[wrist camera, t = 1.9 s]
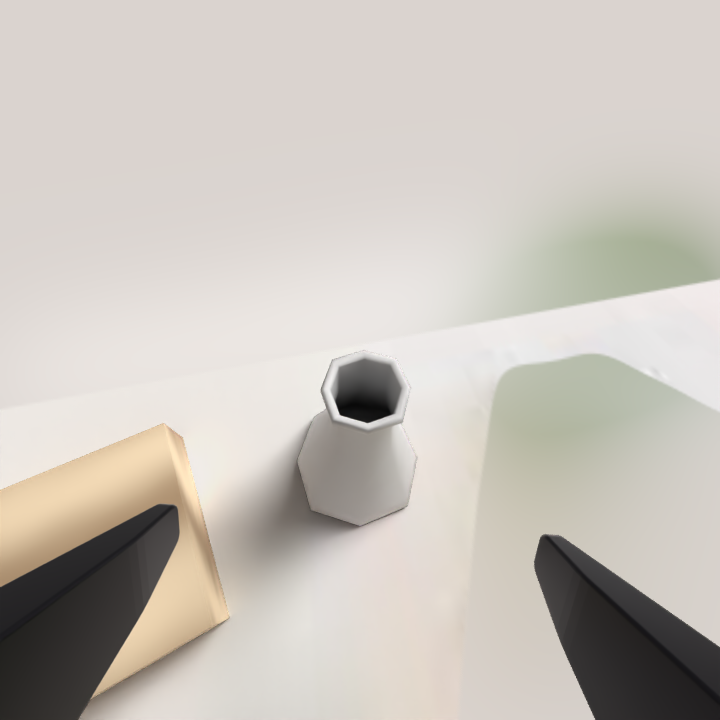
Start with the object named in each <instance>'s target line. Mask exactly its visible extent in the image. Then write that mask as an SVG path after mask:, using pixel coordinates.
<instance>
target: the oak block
mask: <svg viewBox="0 0 720 720" xmlns="http://www.w3.org/2000/svg"><path fill="white" fill-rule="evenodd" d="M162 503H163V504H174V505H176V506H177V508H178V514H179V529H180V535H179V539H178V542H177V545H176V547H175V549H174V551H173V553H172V555H171V557H170V559H169V561H168V563H167V565H166V567H165V569H164V571H163V573H162V575H161V577H160V579H159V581H158V583H157V585H156V587H155V589H154V591H153V593H152V596H151V598H150V600H149V601H148V603H147V605H146V607H145V609H144V611H143V613H142V614H141V616H140V618H139V620H138V621H137V623H136V625H135V626H134V628H133V630H132V631H131V633H130V635H129V636H128V638H127V640H126V641H125V643H124V644H123V646H122V648H121V649H120V651H119V653H118V654H117V656H116V658H115V659H114V661H113V663H112V664H111V666H110V668H109V669H108V671H107V673H106V674H105V676H104V678H103V679H102V681H101V683H100V684H99V686H98V687H97V689H96V691H95V692H94V694H93V696H92V697H91V699H92V698H94V697H96V696H97V695H99V694H101V693H103V692H104V691H106V690H108V689H109V688H111V687H113V686H114V685H116V684H118V683H120V682H121V681H123V680H125V679H126V678H128V677H130V676H131V675H133V674H135V673H137V672H138V671H140V670H142V669H143V668H145V667H147V666H149V665H150V664H152V663H154V662H155V661H157V660H159V659H160V658H162V657H164V656H166V655H167V654H169V653H171V652H172V651H174V650H176V649H177V648H179V647H181V646H183V645H184V644H186V643H188V642H189V641H191V640H193V639H194V638H196V637H198V636H200V635H201V634H203V633H205V632H206V631H208V630H210V629H211V628H213V627H215V626H217V625H218V624H220V623H222V622H223V621H225V620H227V619H228V618H230V617H229V614H228V610H227V606H226V602H225V598H224V594H223V590H222V587H221V583H220V579H219V575H218V571H217V567H216V564H215V560H214V556H213V552H212V548H211V544H210V540H209V537H208V533H207V529H206V525H205V521H204V517H203V514H202V510H201V506H200V502H199V498H198V494H197V490H196V487H195V483H194V479H193V475H192V471H191V467H190V464H189V460H188V456H187V452H186V448H185V444H184V440H183V438H182V437H181V436H180V435H178V434H177V433H176V432H175V431H173V430H172V429H171V428H169V427H168V426H167V425H165V424H164V423H163V424H160V425H158V426H156V427H153V428H151V429H148V430H146V431H143V432H141V433H138V434H136V435H133V436H131V437H129V438H126V439H124V440H121V441H119V442H116V443H114V444H111V445H109V446H107V447H104V448H102V449H99V450H97V451H94V452H92V453H89V454H87V455H85V456H82V457H80V458H77V459H75V460H72V461H70V462H67V463H65V464H63V465H60V466H58V467H55V468H53V469H50V470H48V471H45V472H43V473H41V474H38V475H36V476H33V477H31V478H28V479H26V480H23V481H21V482H19V483H16V484H14V485H11V486H9V487H6V488H4V489H1V490H0V587H1V586H3V585H5V584H7V583H9V582H11V581H12V580H14V579H16V578H18V577H20V576H22V575H24V574H26V573H28V572H30V571H32V570H33V569H35V568H37V567H39V566H41V565H43V564H45V563H47V562H49V561H51V560H52V559H54V558H56V557H58V556H60V555H62V554H64V553H66V552H68V551H70V550H71V549H73V548H75V547H77V546H79V545H81V544H83V543H85V542H87V541H89V540H90V539H92V538H94V537H96V536H98V535H100V534H102V533H104V532H106V531H108V530H109V529H111V528H113V527H115V526H117V525H119V524H121V523H123V522H125V521H127V520H128V519H130V518H132V517H134V516H136V515H138V514H140V513H142V512H144V511H146V510H147V509H149V508H151V507H153V506H155V505H157V504H162ZM91 699H90V700H91Z"/></svg>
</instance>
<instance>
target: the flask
mask: <svg viewBox="0 0 720 720" xmlns="http://www.w3.org/2000/svg"><path fill="white" fill-rule="evenodd" d="M410 389H411V386H410V384H409V382H408V380H407V378H406V376H405V374H404V373H403V371H402V369H401V367H400V365H399V363H398V361H397V359H396V358H392V357H388V356H385V355H381V354H377V353H373V352H369V351H366V350H363V351H359V352H356V353H353V354H349V355H346V356H343V357H339V358H336V359H333V360H332V361H331V364H330V367H329V369H328V372H327V374H326V377H325V379H324V382H323V385H322V387H321V394H322V397H323V400H324V403H325V406H326V409H325V410H324V411H322V412H321V413H319V414H317V415H316V416H315V417H314V418H313V420H312V423H311V426H310V428H309V431H308V434H307V436H306V439H305V441H304V444H303V447H302V449H301V452H300V455H299V457H298V460H297V463H298V466H299V470H300V474H301V477H302V481H303V484H304V488H305V491H306V495H307V498H308V502H309V506H310V509H311V510H312V511H315V512H318V513H321V514H325V515H328V516H331V517H334V518H337V519H340V520H343V521H346V522H349V523H352V524H355V525H359V526H362V525H364V524H366V523H369V522H371V521H374V520H376V519H378V518H381V517H383V516H385V515H388V514H390V513H393V512H395V511H397V510H400V509H402V508H404V507H407V506H408V502H409V497H410V492H411V487H412V482H413V477H414V472H415V467H416V461H417V455H416V453H415V451H414V449H413V447H412V444H411V442H410V440H409V438H408V436H407V434H406V431H405V429H404V427H403V425H402V422H403V419H404V415H405V411H406V406H407V402H408V398H409V393H410Z"/></svg>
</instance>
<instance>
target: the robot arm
mask: <svg viewBox="0 0 720 720" xmlns="http://www.w3.org/2000/svg"><path fill="white" fill-rule="evenodd" d="M179 535H180V529H179V514H178V508H177V506H176V505H174V504H163V503H162V504H157V505H155V506H153V507H151V508H149V509H147V510H146V511H144V512H142V513H140V514H138V515H136V516H134V517H132V518H130V519H128V520H127V521H125V522H123V523H121V524H119V525H117V526H115V527H113V528H111V529H109V530H108V531H106V532H104V533H102V534H100V535H98V536H96V537H94V538H92V539H90V540H89V541H87V542H85V543H83V544H81V545H79V546H77V547H75V548H73V549H71V550H70V551H68V552H66V553H64V554H62V555H60V556H58V557H56V558H54V559H52V560H51V561H49V562H47V563H45V564H43V565H41V566H39V567H37V568H35V569H33V570H32V571H30V572H28V573H26V574H24V575H22V576H20V577H18V578H16V579H14V580H12V581H11V582H9V583H7V584H5V585H3V586H1V587H0V720H78V719H79V717H80V716H81V714H82V712H83V711H84V709H85V707H86V706H87V704H88V702H89V701H90V699H91V697H92V696H93V694H94V692H95V691H96V689H97V687H98V686H99V684H100V683H101V681H102V679H103V678H104V676H105V674H106V673H107V671H108V669H109V668H110V666H111V664H112V663H113V661H114V659H115V658H116V656H117V654H118V653H119V651H120V649H121V648H122V646H123V644H124V643H125V641H126V640H127V638H128V636H129V635H130V633H131V631H132V630H133V628H134V626H135V625H136V623H137V621H138V620H139V618H140V616H141V614H142V613H143V611H144V609H145V607H146V605H147V603H148V601H149V600H150V598H151V596H152V593H153V591H154V589H155V587H156V585H157V583H158V581H159V579H160V577H161V575H162V573H163V571H164V569H165V567H166V565H167V563H168V561H169V559H170V557H171V555H172V553H173V551H174V549H175V547H176V545H177V542H178V539H179ZM534 567H535V572H536V575H537V578H538V581H539V583H540V586H541V589H542V592H543V595H544V598H545V600H546V603H547V606H548V609H549V612H550V614H551V617H552V620H553V623H554V625H555V629H556V632H557V634H558V637H559V639H560V642H561V644H562V647H563V649H564V651H565V654H566V656H567V658H568V660H569V663H570V665H571V667H572V669H573V671H574V674H575V676H576V678H577V680H578V682H579V685H580V687H581V689H582V691H583V694H584V696H585V698H586V700H587V702H588V705H589V707H590V709H591V711H592V713H593V716H594V718H595V720H720V647H719V646H717V645H716V644H715V643H713V642H712V641H710V640H709V639H708V638H706V637H705V636H703V635H702V634H700V633H699V632H697V631H696V630H695V629H693V628H692V627H690V626H689V625H688V624H686V623H685V622H683V621H682V620H680V619H679V618H678V617H676V616H674V615H673V614H672V613H670V612H669V611H668V610H666V609H665V608H663V607H662V606H660V605H659V604H657V603H656V602H655V601H653V600H651V599H650V598H649V597H647V596H646V595H645V594H643V593H642V592H640V591H639V590H637V589H636V588H635V587H633V586H632V585H630V584H629V583H627V582H626V581H625V580H623V579H622V578H620V577H619V576H617V575H616V574H615V573H613V572H612V571H610V570H609V569H607V568H606V567H605V566H603V565H602V564H600V563H599V562H597V561H596V560H594V559H593V558H591V557H590V556H589V555H587V554H586V553H584V552H583V551H581V550H580V549H579V548H577V547H576V546H574V545H573V544H571V543H570V542H569V541H567V540H566V539H564V538H563V537H561V536H559V535H549V534H544V535H542V536H541V537H540V540H539V544H538V548H537V552H536V556H535V561H534Z"/></svg>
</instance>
